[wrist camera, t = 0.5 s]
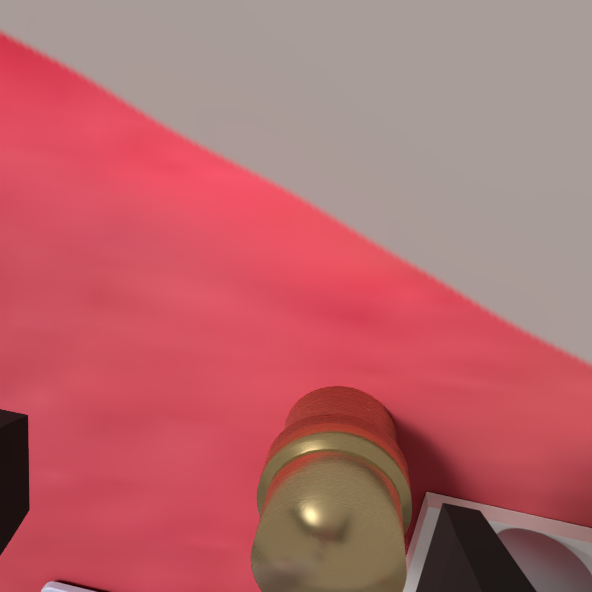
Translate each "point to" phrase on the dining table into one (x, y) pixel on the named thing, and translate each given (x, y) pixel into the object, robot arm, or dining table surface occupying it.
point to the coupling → (333, 499)
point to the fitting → (516, 545)
